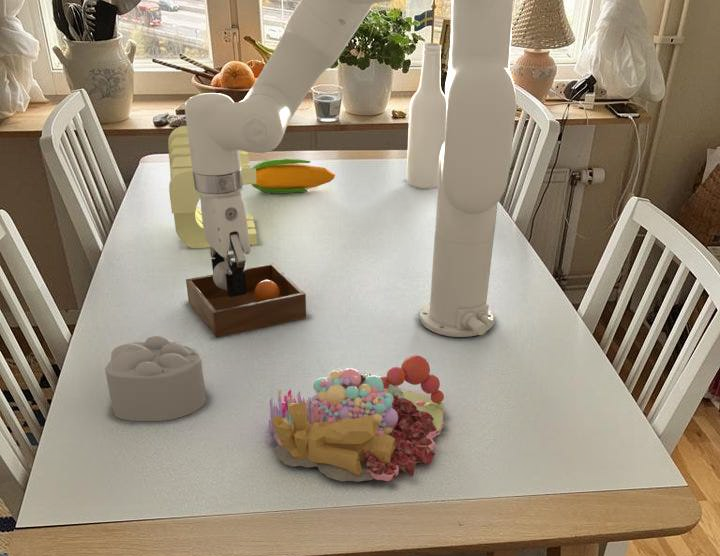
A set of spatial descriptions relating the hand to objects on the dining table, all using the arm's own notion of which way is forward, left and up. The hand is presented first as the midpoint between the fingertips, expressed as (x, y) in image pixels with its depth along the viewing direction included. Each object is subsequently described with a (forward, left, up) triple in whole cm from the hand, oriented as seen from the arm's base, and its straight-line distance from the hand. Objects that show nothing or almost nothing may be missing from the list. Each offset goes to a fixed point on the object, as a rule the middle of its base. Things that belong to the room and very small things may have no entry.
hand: (230, 286), depth 144 cm
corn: (+54, -35, -5) cm, 64 cm away
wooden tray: (0, -3, -5) cm, 6 cm away
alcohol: (+46, -66, -5) cm, 80 cm away
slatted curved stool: (+36, -10, -5) cm, 38 cm away
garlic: (0, 0, -1) cm, 1 cm away
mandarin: (0, -7, -3) cm, 7 cm away
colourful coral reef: (-42, -3, -5) cm, 43 cm away
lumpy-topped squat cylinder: (-22, +19, -5) cm, 30 cm away
